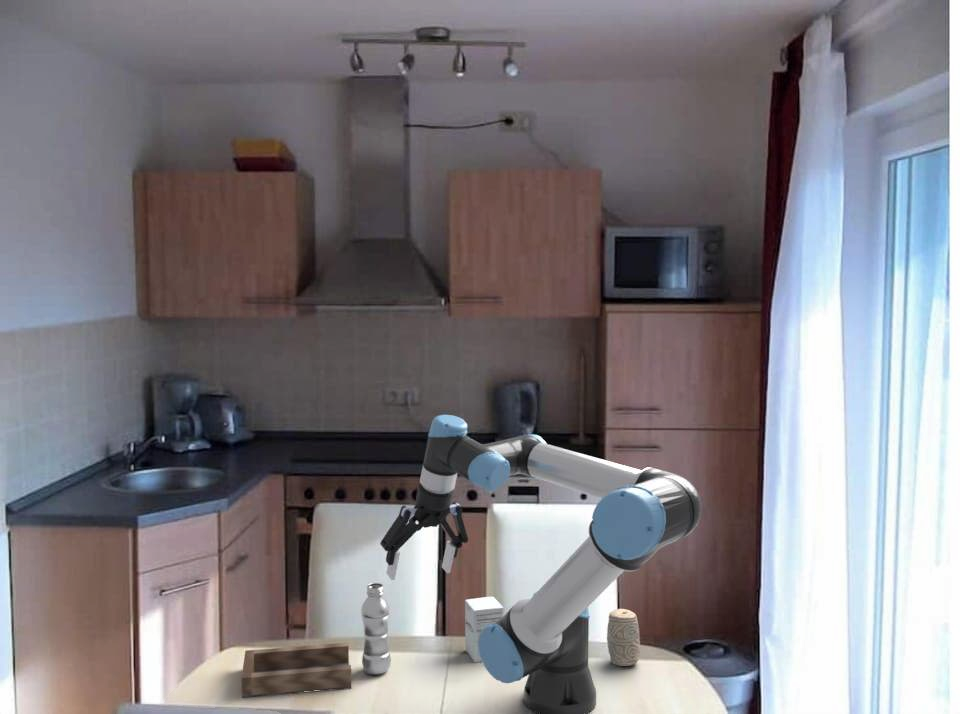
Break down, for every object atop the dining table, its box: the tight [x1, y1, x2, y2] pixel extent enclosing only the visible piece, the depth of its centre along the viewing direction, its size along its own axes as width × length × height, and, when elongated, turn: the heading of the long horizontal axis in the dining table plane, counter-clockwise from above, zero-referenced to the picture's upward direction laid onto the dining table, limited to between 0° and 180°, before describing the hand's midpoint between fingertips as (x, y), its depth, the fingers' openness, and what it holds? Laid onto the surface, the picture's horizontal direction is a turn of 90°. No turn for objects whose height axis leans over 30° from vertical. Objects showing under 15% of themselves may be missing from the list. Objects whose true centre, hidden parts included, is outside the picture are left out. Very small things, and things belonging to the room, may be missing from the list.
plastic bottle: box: [360, 582, 392, 676], centre depth 210 cm, size 6×7×20 cm
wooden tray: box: [240, 642, 352, 699], centre depth 208 cm, size 23×14×4 cm, turn 101°
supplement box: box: [464, 596, 504, 663], centre depth 219 cm, size 7×7×13 cm
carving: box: [606, 608, 641, 667], centre depth 214 cm, size 6×8×12 cm
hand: (418, 573), depth 204 cm, fingers open, 13 cm apart
